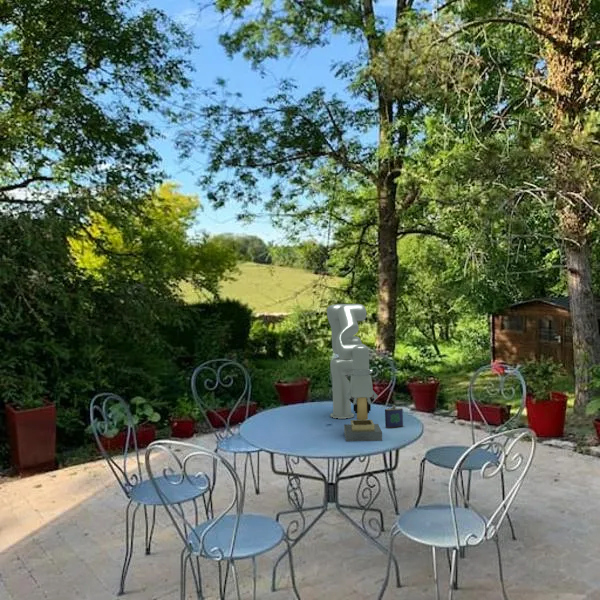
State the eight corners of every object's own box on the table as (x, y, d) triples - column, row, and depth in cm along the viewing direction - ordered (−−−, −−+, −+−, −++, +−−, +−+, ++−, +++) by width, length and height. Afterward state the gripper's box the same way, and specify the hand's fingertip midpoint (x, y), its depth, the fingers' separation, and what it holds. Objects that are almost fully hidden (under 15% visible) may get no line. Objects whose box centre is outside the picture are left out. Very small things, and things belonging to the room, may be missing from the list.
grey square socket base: (344, 432, 250) (343, 419, 250) (378, 432, 250) (377, 418, 250) (346, 441, 236) (345, 426, 236) (382, 440, 236) (381, 426, 236)
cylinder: (356, 417, 245) (355, 393, 245) (367, 417, 245) (366, 393, 245) (357, 420, 240) (356, 395, 240) (368, 419, 240) (367, 395, 240)
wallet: (401, 425, 261) (401, 403, 261) (404, 426, 258) (403, 405, 258) (384, 427, 259) (383, 405, 258) (387, 428, 256) (386, 406, 256)
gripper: (378, 371, 246) (379, 410, 246) (341, 372, 246) (343, 411, 246) (380, 373, 238) (381, 414, 238) (342, 374, 239) (343, 414, 239)
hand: (362, 412), depth 242 cm, fingers closed on cylinder, 5 cm apart
